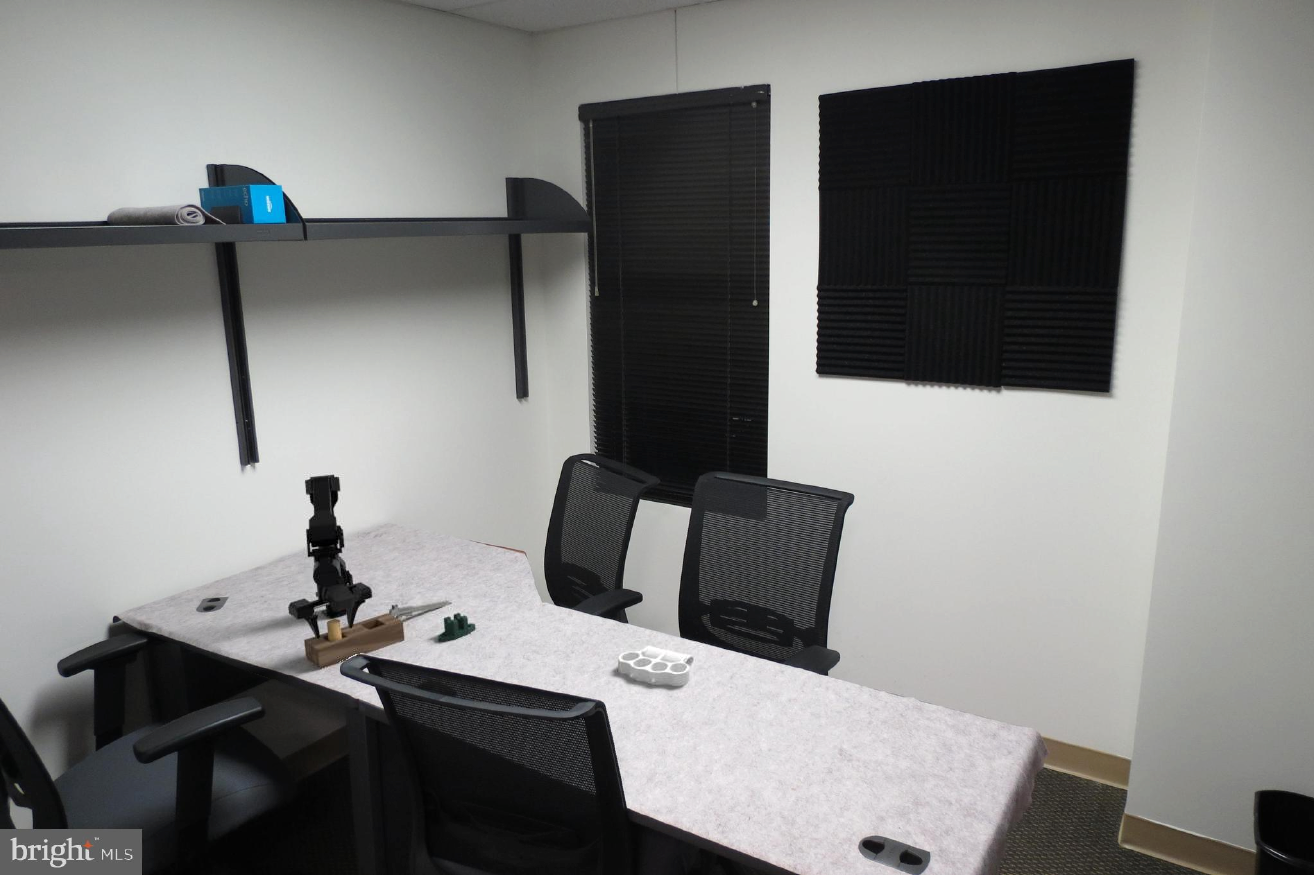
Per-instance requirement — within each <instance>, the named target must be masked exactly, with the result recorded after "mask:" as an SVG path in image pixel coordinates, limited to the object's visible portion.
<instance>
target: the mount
mask: <svg viewBox="0 0 1314 875" xmlns="http://www.w3.org/2000/svg"><path fill="white" fill-rule="evenodd" d="M461 614H462V613H461V612H457V613H454V614H453V619H452V617H451V616H445V617H444V618H443V625H444V631H442V632H441V633H440V634H438V635H437V642H438V643H447V642H451V641H455V640H459V639H461V638H464V637H466V636H468V634H469V635H470V634H472V633H473V632H474V631H476V624H475V623H472V622H471V623H469V618H468V616H466V615H461ZM471 632H472V633H471ZM463 636H464V637H463Z"/></svg>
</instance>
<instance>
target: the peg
mask: <svg viewBox="0 0 1314 875" xmlns="http://www.w3.org/2000/svg"><path fill="white" fill-rule="evenodd" d="M326 627H327V632H328V638H329V642H330V643H331V642H334V641H337V640H340V639H342V636H341V628H342V627H341V620H340V619H337V618H335V619H334V618H332V619H330V620H328V621H327V622H326Z"/></svg>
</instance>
